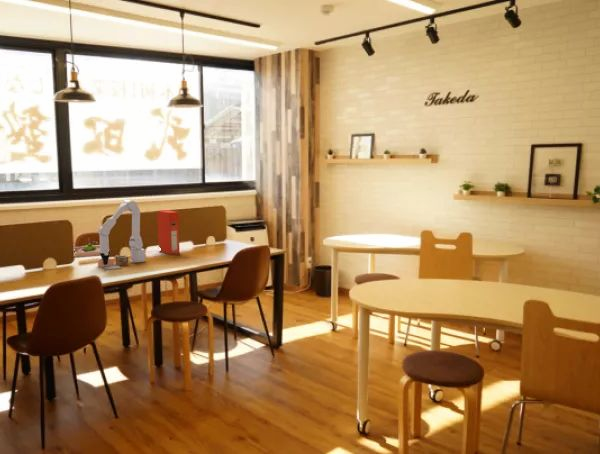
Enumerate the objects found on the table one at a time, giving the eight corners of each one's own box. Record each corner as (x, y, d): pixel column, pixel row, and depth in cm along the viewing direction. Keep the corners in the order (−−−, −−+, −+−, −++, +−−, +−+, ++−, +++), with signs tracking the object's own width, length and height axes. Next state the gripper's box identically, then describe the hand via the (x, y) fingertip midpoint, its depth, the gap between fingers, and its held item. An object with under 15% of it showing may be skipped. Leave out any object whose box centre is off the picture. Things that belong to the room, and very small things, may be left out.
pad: (118, 265, 366) (118, 265, 366) (121, 268, 358) (121, 267, 358) (102, 267, 362) (102, 266, 362) (105, 270, 353) (105, 269, 353)
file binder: (170, 254, 405) (169, 212, 400) (158, 251, 417) (157, 210, 413) (179, 253, 411) (178, 212, 406) (167, 250, 423) (166, 209, 418)
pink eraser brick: (113, 264, 370) (112, 257, 369) (113, 265, 367) (113, 258, 366) (97, 266, 365) (97, 258, 364) (98, 267, 362) (98, 259, 361)
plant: (101, 249, 424) (100, 235, 422) (106, 254, 407) (106, 239, 406) (73, 252, 413) (73, 237, 412) (78, 256, 397) (77, 241, 395)
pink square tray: (104, 248, 427) (104, 244, 427) (110, 254, 405) (109, 250, 405) (70, 251, 415) (70, 247, 415) (74, 257, 394) (74, 253, 393)
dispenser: (126, 263, 375) (126, 254, 374) (128, 264, 370) (128, 255, 369) (115, 264, 372) (115, 255, 371) (117, 265, 366) (117, 256, 366)
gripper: (96, 243, 368) (97, 262, 370) (99, 246, 355) (100, 266, 357) (107, 242, 371) (108, 261, 373) (110, 245, 359) (111, 265, 361)
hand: (105, 263), depth 365 cm, fingers closed on pink eraser brick, 3 cm apart
